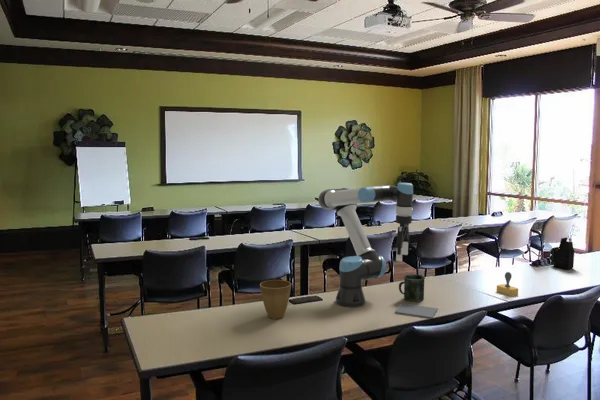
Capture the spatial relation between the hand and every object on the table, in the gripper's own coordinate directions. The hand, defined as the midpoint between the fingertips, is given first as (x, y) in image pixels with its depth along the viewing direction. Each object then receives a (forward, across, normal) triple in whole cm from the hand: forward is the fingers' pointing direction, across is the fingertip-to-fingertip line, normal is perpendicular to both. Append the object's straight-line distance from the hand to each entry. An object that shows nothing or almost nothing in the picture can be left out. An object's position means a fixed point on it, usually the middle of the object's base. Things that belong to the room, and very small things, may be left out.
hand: (402, 257), depth 246 cm
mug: (+27, +18, -2) cm, 33 cm away
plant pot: (+27, -33, +52) cm, 68 cm away
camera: (+27, +125, -80) cm, 151 cm away
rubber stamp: (+26, +50, -49) cm, 75 cm away
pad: (+26, 0, -8) cm, 27 cm away
